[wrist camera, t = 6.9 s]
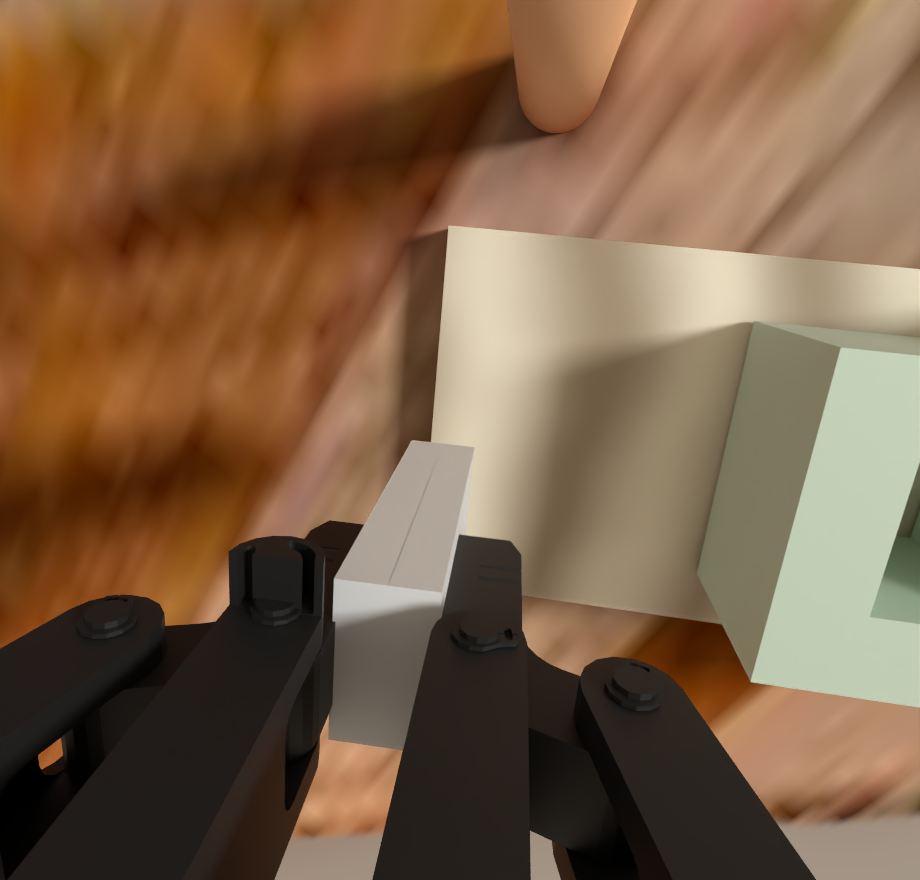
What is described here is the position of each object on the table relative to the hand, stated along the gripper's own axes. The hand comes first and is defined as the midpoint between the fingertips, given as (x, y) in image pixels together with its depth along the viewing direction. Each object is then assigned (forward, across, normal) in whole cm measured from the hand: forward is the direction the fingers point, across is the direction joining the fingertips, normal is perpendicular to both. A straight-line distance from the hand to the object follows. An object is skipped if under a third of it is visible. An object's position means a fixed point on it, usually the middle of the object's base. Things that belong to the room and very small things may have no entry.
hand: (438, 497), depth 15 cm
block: (+7, +13, 0) cm, 15 cm away
